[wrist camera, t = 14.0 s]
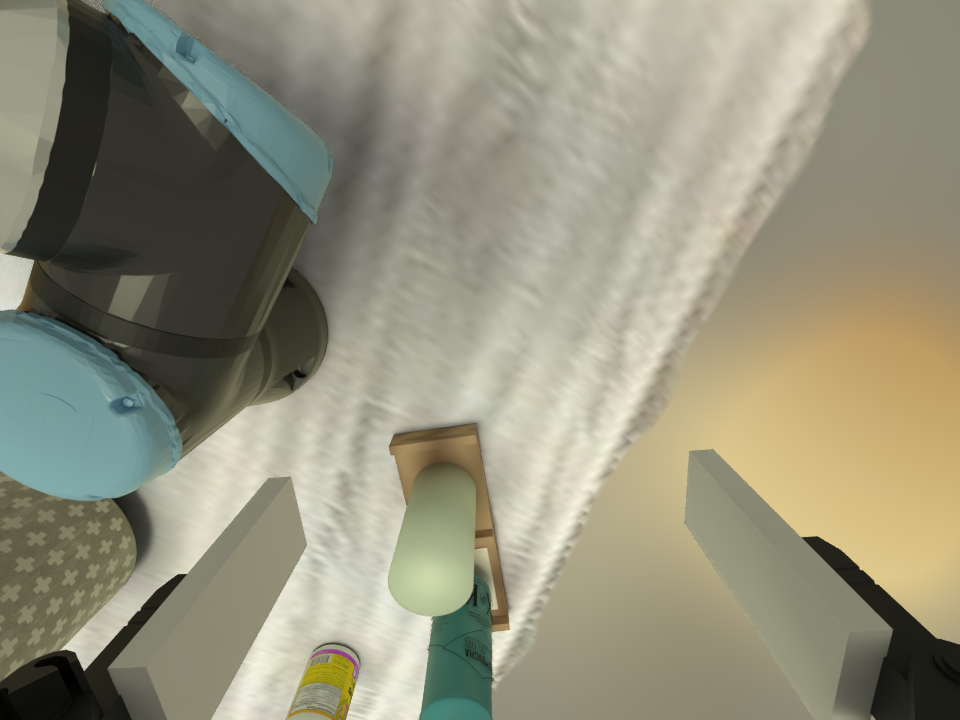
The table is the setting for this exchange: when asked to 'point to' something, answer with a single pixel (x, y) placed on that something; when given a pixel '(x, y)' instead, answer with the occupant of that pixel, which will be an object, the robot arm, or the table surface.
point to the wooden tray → (465, 452)
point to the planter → (55, 568)
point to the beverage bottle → (461, 661)
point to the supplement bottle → (326, 685)
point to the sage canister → (436, 542)
